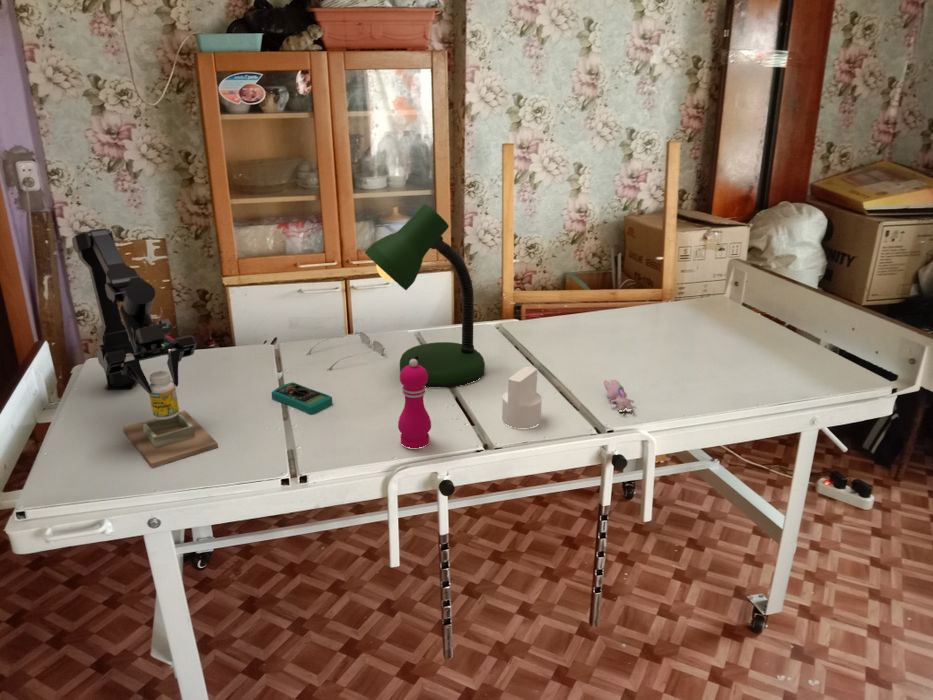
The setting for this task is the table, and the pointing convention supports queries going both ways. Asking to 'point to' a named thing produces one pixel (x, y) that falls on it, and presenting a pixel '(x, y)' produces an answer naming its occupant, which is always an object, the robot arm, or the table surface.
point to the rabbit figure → (617, 395)
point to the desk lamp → (402, 264)
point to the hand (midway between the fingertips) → (163, 389)
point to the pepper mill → (414, 407)
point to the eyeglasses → (364, 339)
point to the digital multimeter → (302, 397)
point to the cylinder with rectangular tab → (522, 400)
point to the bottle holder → (169, 438)
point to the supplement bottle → (163, 396)
